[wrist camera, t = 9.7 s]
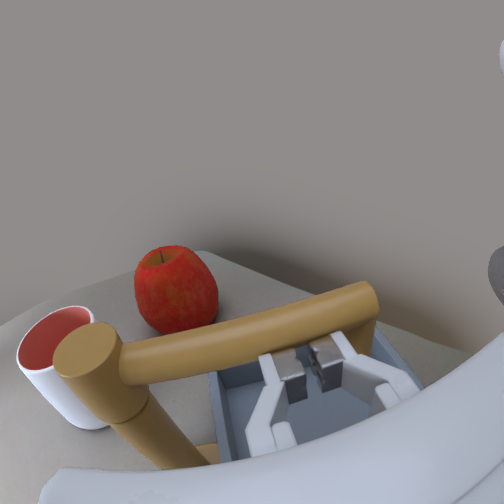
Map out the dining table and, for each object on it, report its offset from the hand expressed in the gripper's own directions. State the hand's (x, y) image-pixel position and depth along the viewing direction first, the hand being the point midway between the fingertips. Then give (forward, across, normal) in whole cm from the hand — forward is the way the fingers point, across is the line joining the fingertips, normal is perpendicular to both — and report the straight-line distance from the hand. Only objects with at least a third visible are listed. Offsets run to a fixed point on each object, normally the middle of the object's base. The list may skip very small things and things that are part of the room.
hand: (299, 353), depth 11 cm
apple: (+23, +9, +14) cm, 28 cm away
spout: (+1, +3, +2) cm, 4 cm away
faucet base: (+1, +9, +14) cm, 17 cm away
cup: (+11, +20, +14) cm, 27 cm away
